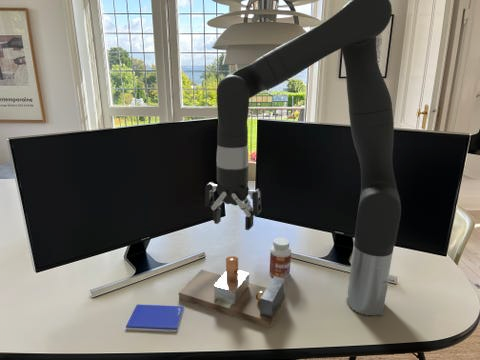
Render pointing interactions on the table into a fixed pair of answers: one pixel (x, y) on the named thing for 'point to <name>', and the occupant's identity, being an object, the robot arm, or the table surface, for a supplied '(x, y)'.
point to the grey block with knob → (271, 297)
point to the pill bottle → (280, 258)
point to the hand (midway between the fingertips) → (232, 225)
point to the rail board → (245, 308)
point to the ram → (231, 282)
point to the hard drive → (155, 318)
